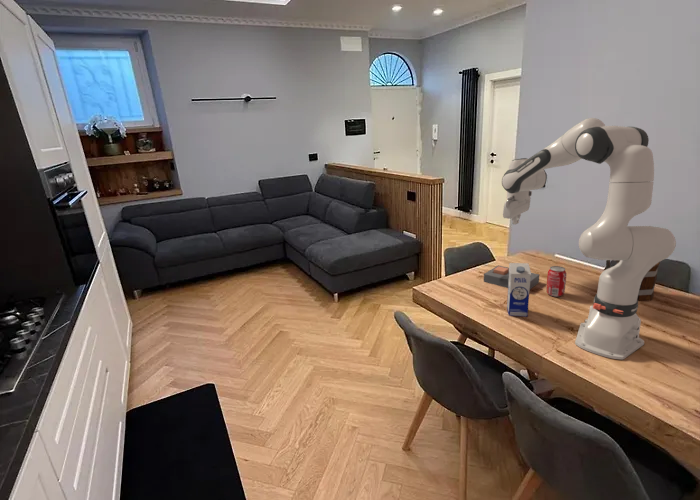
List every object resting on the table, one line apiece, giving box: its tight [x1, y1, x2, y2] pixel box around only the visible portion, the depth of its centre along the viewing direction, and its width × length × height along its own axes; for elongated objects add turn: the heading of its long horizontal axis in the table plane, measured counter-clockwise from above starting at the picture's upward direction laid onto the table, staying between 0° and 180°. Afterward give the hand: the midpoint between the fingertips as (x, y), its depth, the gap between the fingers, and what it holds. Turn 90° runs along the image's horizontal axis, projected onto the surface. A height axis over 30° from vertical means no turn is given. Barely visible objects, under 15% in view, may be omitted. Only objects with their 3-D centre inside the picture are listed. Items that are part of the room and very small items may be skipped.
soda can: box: [545, 265, 567, 298], centre depth 160 cm, size 7×7×12 cm
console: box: [483, 265, 541, 290], centre depth 176 cm, size 14×20×4 cm
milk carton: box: [506, 262, 532, 318], centre depth 147 cm, size 7×7×20 cm
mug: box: [605, 260, 661, 302], centre depth 157 cm, size 20×14×15 cm
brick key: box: [494, 265, 509, 275], centre depth 179 cm, size 5×5×3 cm
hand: (515, 223), depth 175 cm, fingers closed
